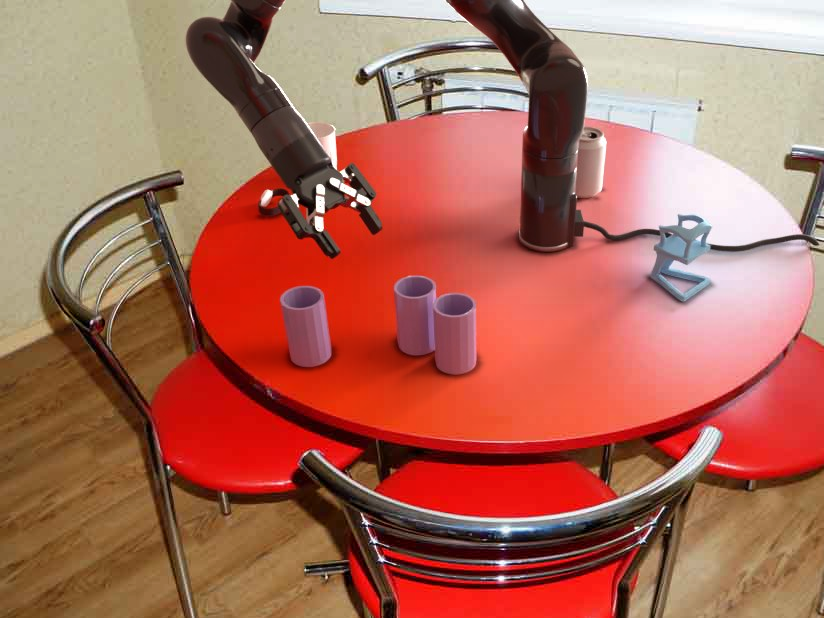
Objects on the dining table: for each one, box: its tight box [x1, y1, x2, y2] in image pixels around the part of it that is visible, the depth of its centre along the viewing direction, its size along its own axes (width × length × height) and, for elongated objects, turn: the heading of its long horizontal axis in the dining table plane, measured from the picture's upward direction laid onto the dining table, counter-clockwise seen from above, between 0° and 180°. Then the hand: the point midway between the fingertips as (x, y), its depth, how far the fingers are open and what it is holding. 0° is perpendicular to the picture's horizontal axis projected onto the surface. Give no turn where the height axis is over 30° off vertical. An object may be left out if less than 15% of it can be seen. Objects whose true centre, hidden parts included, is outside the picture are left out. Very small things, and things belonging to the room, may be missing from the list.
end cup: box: [279, 285, 333, 368], centre depth 121 cm, size 6×6×10 cm
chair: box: [649, 213, 713, 303], centre depth 136 cm, size 8×8×12 cm
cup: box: [433, 292, 477, 376], centre depth 120 cm, size 6×6×10 cm
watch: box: [257, 187, 291, 217], centre depth 157 cm, size 8×5×4 cm, turn 159°
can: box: [575, 125, 607, 199], centre depth 161 cm, size 8×8×12 cm
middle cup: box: [393, 274, 437, 356], centre depth 123 cm, size 6×6×10 cm
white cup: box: [306, 121, 338, 170], centre depth 164 cm, size 8×8×10 cm
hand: (358, 243), depth 122 cm, fingers open, 8 cm apart
